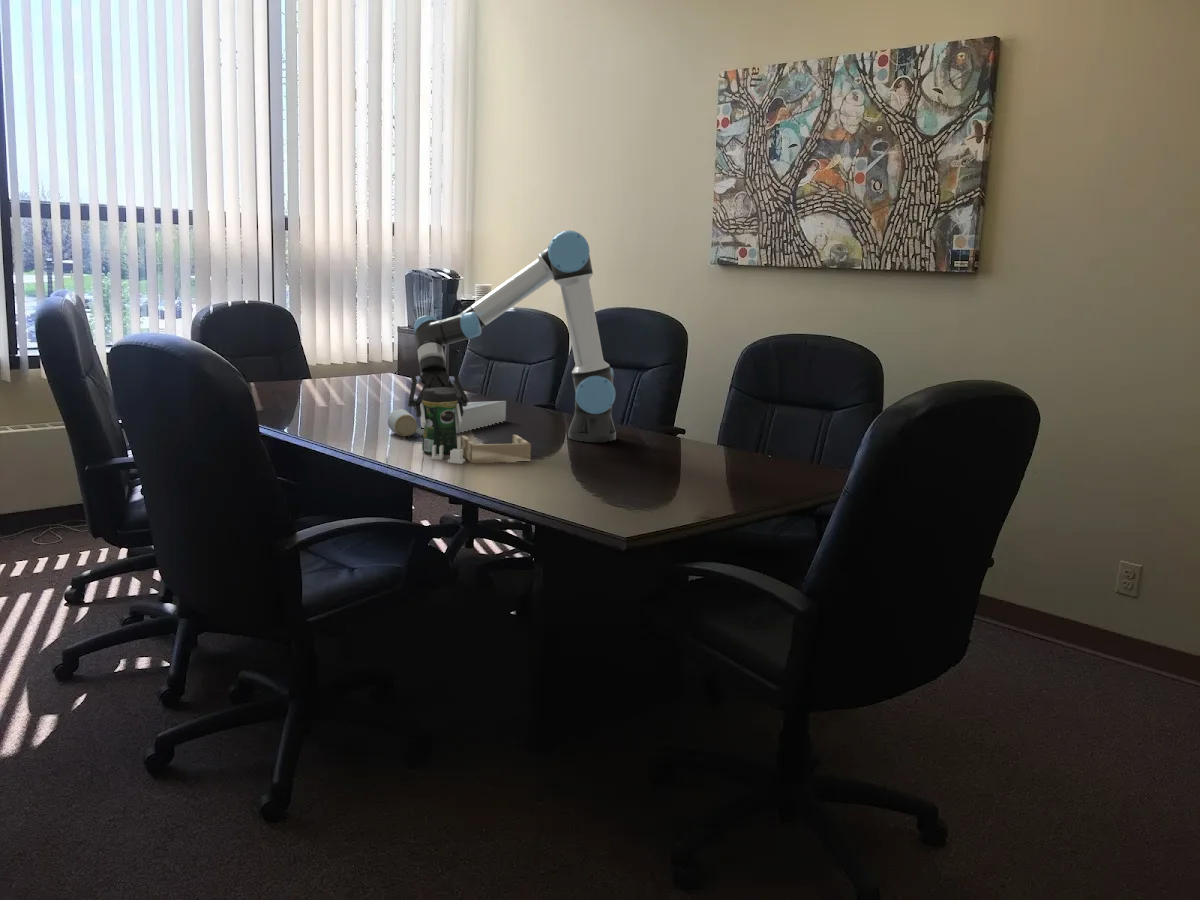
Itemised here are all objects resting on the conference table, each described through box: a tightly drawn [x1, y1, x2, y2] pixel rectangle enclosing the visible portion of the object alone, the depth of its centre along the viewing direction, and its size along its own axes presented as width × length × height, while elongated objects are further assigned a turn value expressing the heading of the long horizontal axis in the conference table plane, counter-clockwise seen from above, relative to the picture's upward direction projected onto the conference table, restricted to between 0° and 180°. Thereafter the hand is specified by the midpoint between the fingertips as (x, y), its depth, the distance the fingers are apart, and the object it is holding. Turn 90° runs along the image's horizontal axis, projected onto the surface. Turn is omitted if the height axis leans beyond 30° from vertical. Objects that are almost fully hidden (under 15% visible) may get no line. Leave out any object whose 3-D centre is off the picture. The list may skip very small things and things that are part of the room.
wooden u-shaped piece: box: [460, 434, 532, 464], centre depth 270 cm, size 15×16×5 cm
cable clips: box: [430, 445, 466, 465], centre depth 264 cm, size 5×12×3 cm, turn 57°
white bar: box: [424, 400, 507, 434], centre depth 321 cm, size 30×14×8 cm, turn 156°
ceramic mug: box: [387, 408, 424, 438], centre depth 298 cm, size 11×8×8 cm
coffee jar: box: [421, 387, 458, 455], centre depth 272 cm, size 10×8×19 cm
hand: (441, 425), depth 270 cm, fingers closed on coffee jar, 9 cm apart
